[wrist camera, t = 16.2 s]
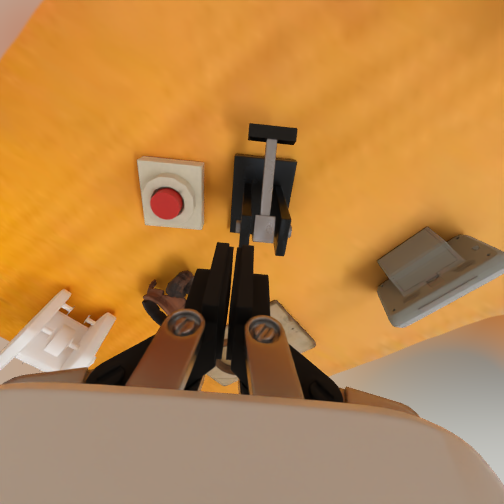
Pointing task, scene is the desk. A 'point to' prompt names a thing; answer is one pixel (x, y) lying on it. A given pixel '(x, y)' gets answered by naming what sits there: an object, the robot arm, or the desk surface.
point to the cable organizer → (57, 339)
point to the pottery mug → (167, 297)
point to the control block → (179, 179)
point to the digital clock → (434, 274)
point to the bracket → (249, 198)
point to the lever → (268, 175)
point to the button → (166, 203)
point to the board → (294, 337)
